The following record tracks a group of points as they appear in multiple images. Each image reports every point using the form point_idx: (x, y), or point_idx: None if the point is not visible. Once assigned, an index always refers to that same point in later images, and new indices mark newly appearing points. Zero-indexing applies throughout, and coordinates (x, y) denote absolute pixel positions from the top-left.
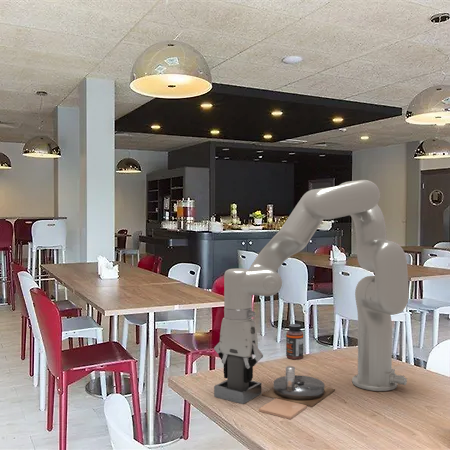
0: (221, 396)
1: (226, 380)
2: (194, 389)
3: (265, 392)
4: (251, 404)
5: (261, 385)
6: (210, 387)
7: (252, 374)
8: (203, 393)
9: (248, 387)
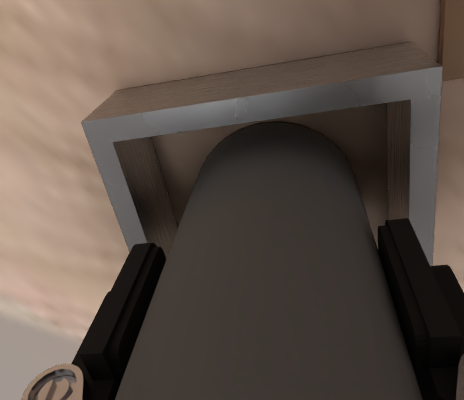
0: None
1: (129, 233)
2: (6, 284)
3: (452, 22)
4: (458, 256)
5: (432, 59)
6: (24, 205)
7: (460, 293)
8: (96, 296)
9: (359, 195)
